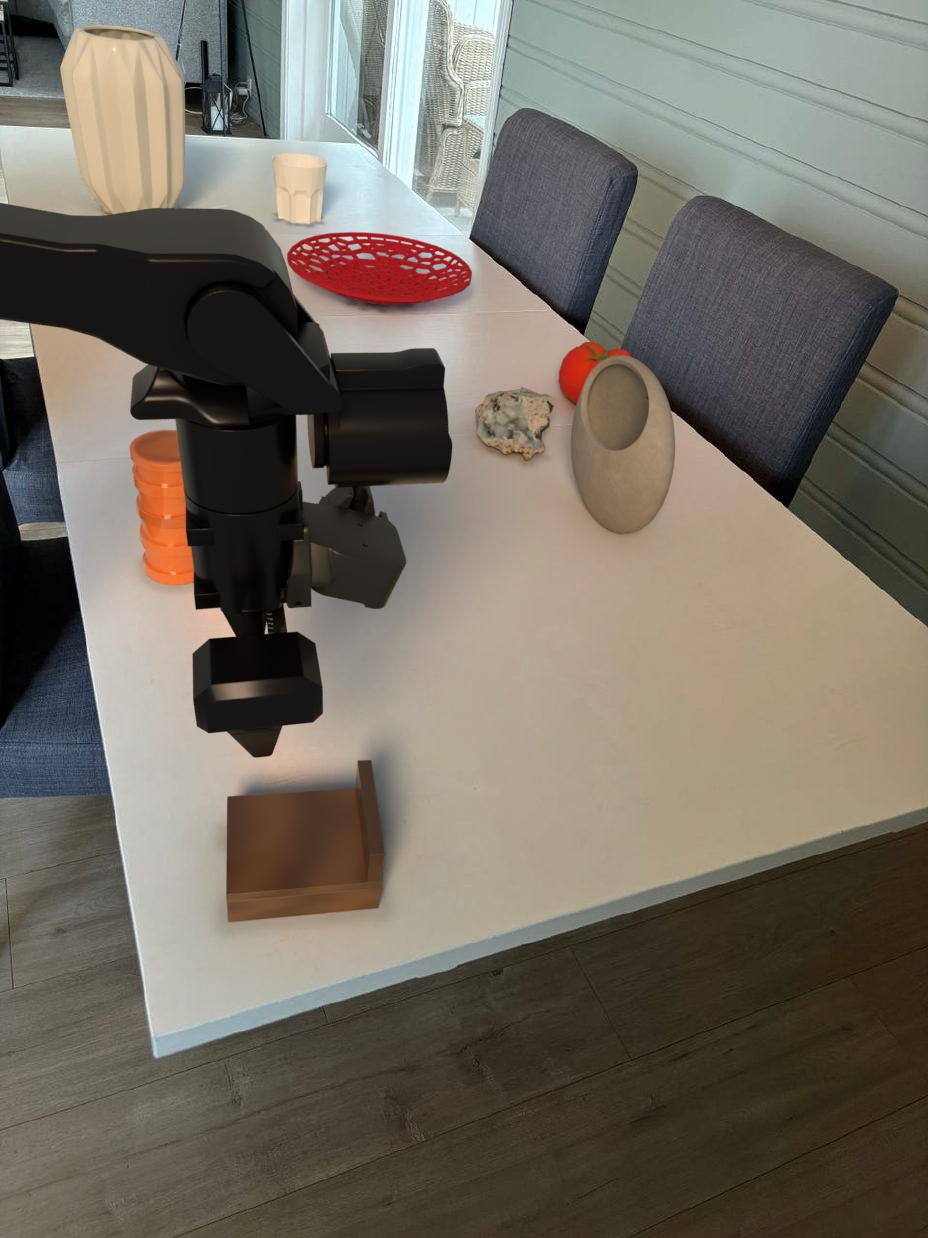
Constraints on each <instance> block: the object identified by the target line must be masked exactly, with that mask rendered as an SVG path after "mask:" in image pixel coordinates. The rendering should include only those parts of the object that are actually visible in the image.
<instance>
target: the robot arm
mask: <svg viewBox="0 0 928 1238" xmlns="http://www.w3.org/2000/svg"><path fill="white" fill-rule="evenodd" d="M0 320H3V321H8V322H9V321H10V322H16V323H24V324H30V325H37V326H45V327H52V328H60V329H65V330H69V331H73V332H76V333H79V334H83V335H86V336H89V337H94V338H96V339H98V340H100V341H102V342H104V343H105V344H107V345H109V346H112V347H114V348H115V349H117V350H119V351H121V352H123V353H124V354H126V355H128V356H130V357H132V358H134V359H136V360H137V361H139V362H141V363H143V364H145V366H144V367H143V368H142V369H140V370H139V371H137V372H136V373H135V374H134V375H133V377H132V381H131V382H132V383H131V394H130V404H129V405H130V406H129V407H130V408H129V412H130V413H129V414H130V415H131V417H132V418H133V419H134V420H137V421H158V420H159V421H162V420H165V421H166V420H175V428H176V431H177V437H178V445H179V453H180V462H181V470H182V478H183V485H184V495H185V503H186V535H187V543H188V546H191V552H192V560H193V568H194V582H193V598H194V599H193V600H194V607H195V610H196V611H197V610H211V609H220V612H222V614H223V616H224V618H225V619H226V621H227V623H228V625H229V626H230V628H231V631H232V632H233V634H234V636H225V637H211V638H207V640H206V641H205V642H204V643H202V645H200V646H199V647H198V648H197V649H195V651H193V652H192V655H191V656H192V702H193V709H194V717H195V724H196V728H199V729H201V730H202V731H204V732H206V733H207V734H217V733H227V734H228V735H230V736H231V738H233V739H234V740H235V741H236V742H237V743H238V744H239V745H240V746H241V747H242V748H243V749H244V750H245V751H246V752H247V753H248V754H249V755H250V756H251V757H252V758H256V759H257V758H266V757H267V758H268V757H271V756H273V754H274V751H275V748H276V745H277V742H278V740H279V737H280V734H281V732H282V729H283V727H284V726H285V727H286V726H294V725H302V724H313V723H314V722H316V721H317V720H318V719H319V718H320V717H321V716H322V715H323V714H324V687H323V681H322V675H321V669H320V663H319V656H318V650H317V645H316V642H315V641H313V640H312V639H310V638H308V637H306V635H304V634H302V633H301V632H299V631H288V627H287V619H286V612H285V611H286V610H285V604H286V606H287V608H288V609H300V608H312V591H314V592H315V593H317V594H319V595H321V596H324V597H328V598H333V599H337V600H343V601H347V602H352V603H357V604H361V605H363V606H364V607H365V608H367V609H372V610H380V609H383V608H385V607H386V606H387V603H388V601H389V600H390V597H391V595H392V593H393V591H394V589H395V587H396V585H397V583H398V581H399V579H400V577H401V576H402V573H403V571H404V569H405V567H406V565H407V557H406V554H405V550H404V547H403V545H402V541H401V537H400V535H399V531H398V529H397V526H395V524H394V523H392V522H391V521H390V520H389V518H388V514H387V512H386V511H383V510H381V511H379V513H378V515H376V511H375V510H376V509H375V500H374V497H373V493H372V489H371V487H381V486H382V487H383V486H385V487H386V486H404V485H407V486H408V485H427V484H428V485H429V484H443V483H445V482H446V481H447V478H448V477H449V474H450V470H451V464H452V455H453V439H452V437H451V435H450V433H449V431H450V430H449V427H450V426H449V412H448V403H447V396H446V390H445V376H446V367H445V365H444V363H443V361H442V358H441V356H440V354H439V352H438V351H437V349H436V348H435V347H418V348H417V347H414V348H408V349H404V350H400V351H393V352H390V351H389V352H331V353H330V351H329V347H328V344H327V341H326V336H325V333H324V331H323V329H322V328H321V325H320V324H319V323H318V322H316V320H315V319H314V318H313V316H312V315H311V313H309V311H308V310H307V309H306V308H305V306H304V305H303V303H301V301H300V300H299V299H298V298H297V296H296V295H295V294H294V291H293V287H292V283H291V278H290V273H289V270H288V266H287V263H286V260H285V257H284V254H283V251H282V249H281V246H279V244H278V242H277V241H276V240H275V239H274V237H273V236H272V235H271V234H270V232H269V230H268V229H266V227H265V226H264V225H263V224H262V223H261V222H260V221H258V220H257V219H254V218H253V217H252V216H251V215H248V214H245V213H243V212H239V211H237V210H234V209H226V208H192V207H191V208H189V207H187V208H185V207H174V208H149V209H143V210H137V211H130V212H124V213H117V214H105V215H77V214H76V215H75V214H74V215H73V214H66V213H61V212H55V211H49V210H44V209H38V208H32V207H26V206H21V205H14V204H9V203H4V202H3V203H2V202H0ZM297 416H307V417H306V418H307V419H306V420H307V421H306V423H307V439H308V447H309V457H310V464H311V467H312V469H326V480H327V486H331V485H333V486H334V488H333V489H331V490H330V491H329V492H327V494H326V495H325V496H323V495H322V496H321V497H320V500H319V501H318V502H317V503H314V502H310V501H309V502H308V501H304V500H303V499H304V497H303V495H304V493H303V487H302V481H301V480H299V467H298V466H299V463H298V432H297V427H298V426H297ZM325 467H326V468H325ZM266 629H267V633H266Z"/></svg>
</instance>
